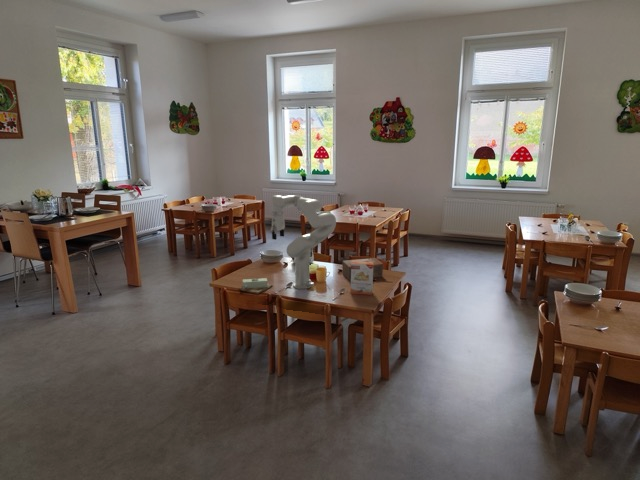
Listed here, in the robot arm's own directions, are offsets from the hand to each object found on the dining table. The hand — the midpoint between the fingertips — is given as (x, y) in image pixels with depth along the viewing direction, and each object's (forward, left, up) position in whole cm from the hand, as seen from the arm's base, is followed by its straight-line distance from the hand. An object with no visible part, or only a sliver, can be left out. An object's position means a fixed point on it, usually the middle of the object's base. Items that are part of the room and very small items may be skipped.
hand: (278, 237), depth 294 cm
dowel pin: (+6, +30, -29) cm, 42 cm away
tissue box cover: (-48, -37, -31) cm, 68 cm away
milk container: (+4, -39, -30) cm, 49 cm away
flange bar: (+3, +23, -29) cm, 37 cm away
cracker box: (-62, -4, -30) cm, 69 cm away
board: (+3, +23, -30) cm, 38 cm away
